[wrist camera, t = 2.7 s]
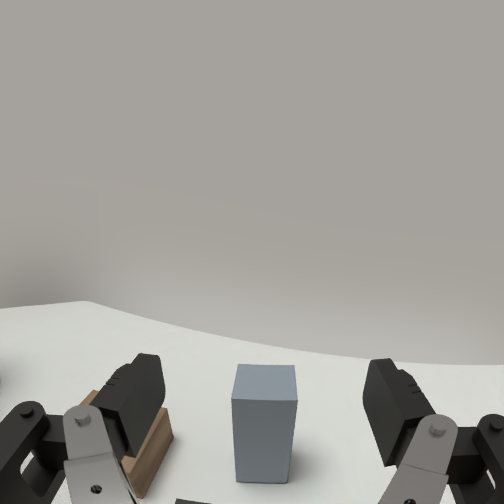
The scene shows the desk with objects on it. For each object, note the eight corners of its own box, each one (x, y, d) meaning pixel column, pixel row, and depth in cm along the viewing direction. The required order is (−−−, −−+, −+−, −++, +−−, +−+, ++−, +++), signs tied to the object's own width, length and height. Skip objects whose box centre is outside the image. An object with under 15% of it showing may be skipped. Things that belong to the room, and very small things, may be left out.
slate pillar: (236, 481, 24) (231, 398, 21) (240, 448, 28) (238, 364, 26) (286, 482, 23) (297, 400, 21) (285, 449, 28) (294, 365, 26)
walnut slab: (64, 467, 21) (47, 438, 20) (103, 418, 31) (93, 389, 30) (142, 499, 20) (129, 473, 19) (173, 437, 30) (167, 408, 29)
